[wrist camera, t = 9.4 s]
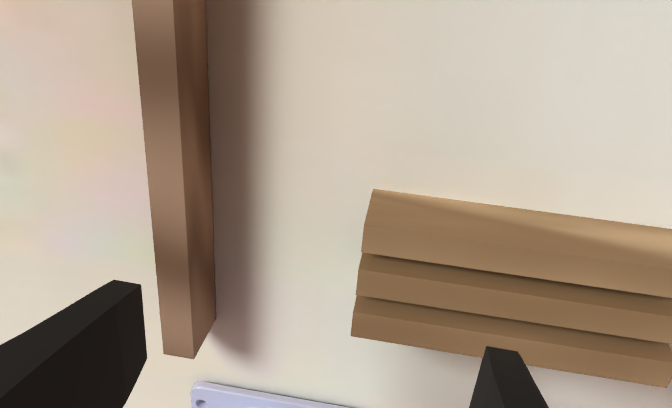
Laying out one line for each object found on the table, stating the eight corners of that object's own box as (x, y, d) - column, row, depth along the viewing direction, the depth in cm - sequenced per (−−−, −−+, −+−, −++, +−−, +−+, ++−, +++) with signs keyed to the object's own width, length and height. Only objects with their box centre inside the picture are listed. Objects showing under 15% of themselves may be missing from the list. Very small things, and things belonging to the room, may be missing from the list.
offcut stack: (634, 315, 22) (666, 387, 19) (363, 274, 23) (350, 336, 20) (669, 226, 20) (711, 289, 17) (373, 186, 21) (360, 238, 18)
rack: (808, 415, 22) (857, 485, 20) (188, 313, 25) (158, 362, 22) (1287, -347, 12) (1524, -415, 9) (145, -381, 15) (80, -441, 12)
